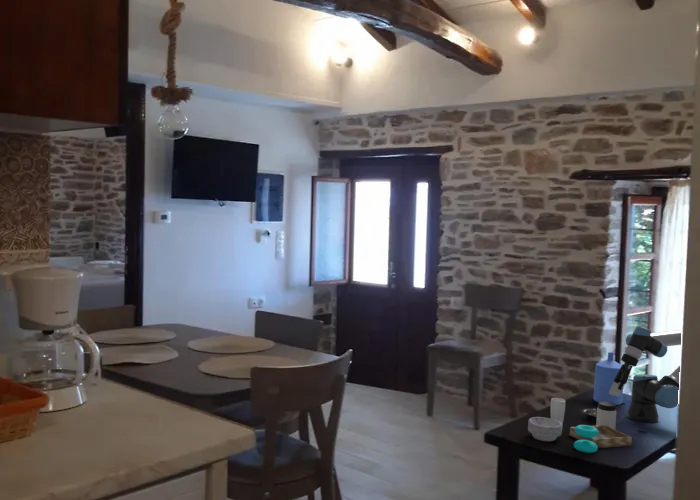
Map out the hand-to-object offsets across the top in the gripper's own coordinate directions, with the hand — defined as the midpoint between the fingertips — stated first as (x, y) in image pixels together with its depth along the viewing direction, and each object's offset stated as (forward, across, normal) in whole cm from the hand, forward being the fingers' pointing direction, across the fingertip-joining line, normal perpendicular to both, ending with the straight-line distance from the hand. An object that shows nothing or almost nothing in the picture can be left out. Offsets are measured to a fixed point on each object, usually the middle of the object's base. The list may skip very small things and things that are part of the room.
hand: (613, 395), depth 332 cm
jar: (+16, -4, +4) cm, 17 cm away
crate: (+22, +18, 0) cm, 29 cm away
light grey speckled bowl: (+33, +24, -23) cm, 47 cm away
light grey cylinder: (+28, +9, -18) cm, 34 cm away
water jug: (+2, -57, +8) cm, 58 cm away
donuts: (+29, +34, -6) cm, 45 cm away
